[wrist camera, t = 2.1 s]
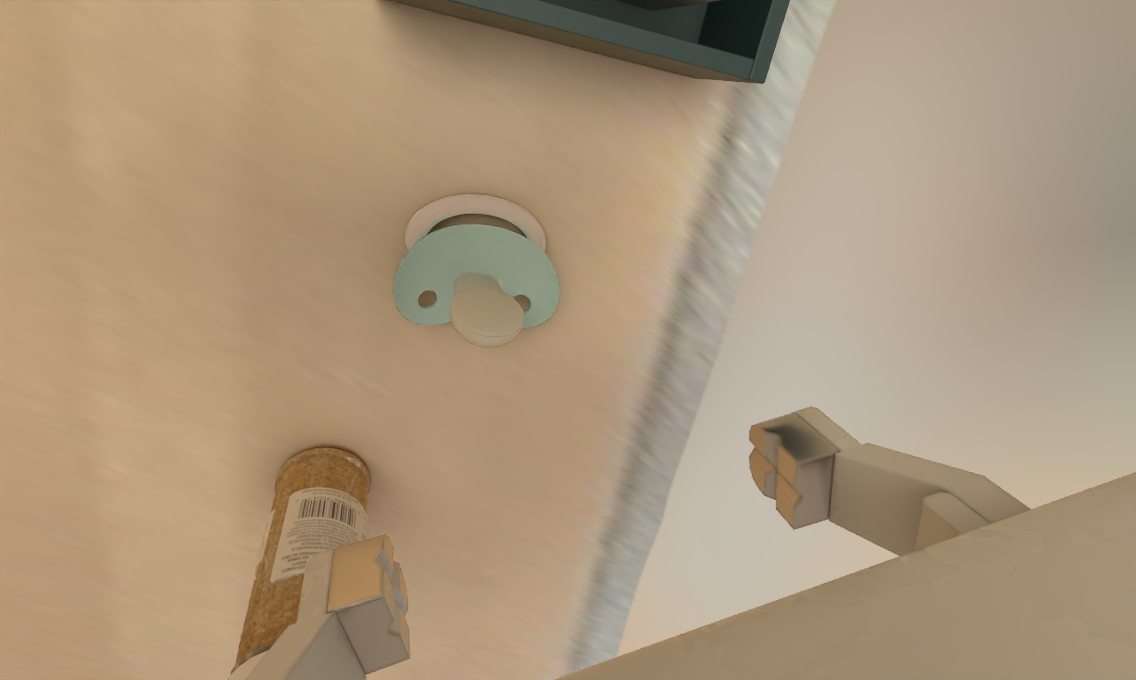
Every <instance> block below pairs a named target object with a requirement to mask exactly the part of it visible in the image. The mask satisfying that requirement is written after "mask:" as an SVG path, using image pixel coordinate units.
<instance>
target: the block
mask: <svg viewBox="0 0 1136 680" xmlns="http://www.w3.org/2000/svg"><path fill="white" fill-rule="evenodd" d="M618 1H621V2H625V3H628V4H631V5H635V6H638V7H642V8H645V9H649V10H652V11H656V10H662V9H669V8H675V7H681V6H688V5H694V4H700V3H706V2H713V1H719V0H618Z"/></svg>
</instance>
